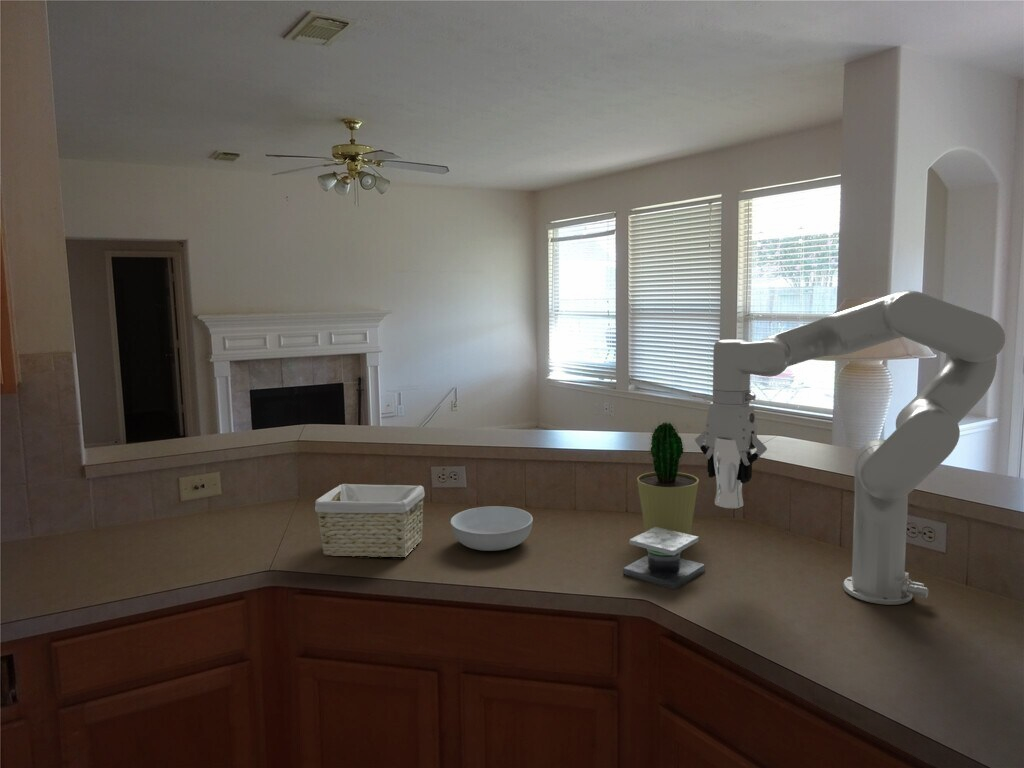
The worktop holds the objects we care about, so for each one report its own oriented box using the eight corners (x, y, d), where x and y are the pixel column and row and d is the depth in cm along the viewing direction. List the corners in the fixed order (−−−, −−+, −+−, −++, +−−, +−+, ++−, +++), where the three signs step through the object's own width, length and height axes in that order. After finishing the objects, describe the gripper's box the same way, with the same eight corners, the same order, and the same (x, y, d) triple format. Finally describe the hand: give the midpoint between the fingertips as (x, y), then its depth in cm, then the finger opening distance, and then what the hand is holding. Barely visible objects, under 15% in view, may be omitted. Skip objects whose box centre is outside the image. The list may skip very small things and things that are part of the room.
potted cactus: (701, 546, 174) (702, 426, 170) (638, 544, 176) (637, 426, 172) (695, 525, 189) (696, 414, 185) (637, 524, 191) (636, 415, 187)
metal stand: (704, 570, 159) (704, 536, 158) (674, 589, 149) (674, 553, 148) (654, 557, 168) (654, 524, 166) (623, 574, 158) (622, 540, 157)
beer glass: (747, 509, 150) (749, 440, 148) (713, 508, 151) (714, 439, 149) (743, 500, 157) (745, 433, 155) (710, 498, 158) (712, 432, 156)
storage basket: (315, 558, 174) (311, 500, 172) (343, 535, 190) (340, 482, 188) (408, 562, 169) (405, 503, 167) (428, 539, 185) (426, 484, 183)
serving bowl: (440, 557, 172) (438, 530, 171) (465, 528, 192) (464, 504, 191) (523, 562, 167) (522, 534, 166) (540, 532, 187) (540, 507, 186)
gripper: (778, 399, 148) (775, 482, 150) (702, 392, 159) (701, 469, 162) (762, 403, 142) (760, 490, 145) (685, 396, 154) (684, 475, 156)
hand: (729, 478), depth 153 cm, fingers closed on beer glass, 6 cm apart
